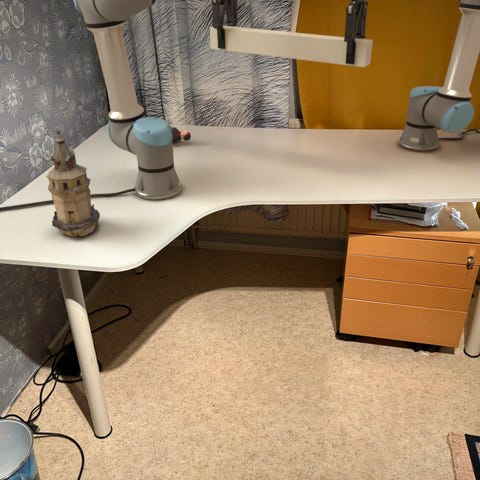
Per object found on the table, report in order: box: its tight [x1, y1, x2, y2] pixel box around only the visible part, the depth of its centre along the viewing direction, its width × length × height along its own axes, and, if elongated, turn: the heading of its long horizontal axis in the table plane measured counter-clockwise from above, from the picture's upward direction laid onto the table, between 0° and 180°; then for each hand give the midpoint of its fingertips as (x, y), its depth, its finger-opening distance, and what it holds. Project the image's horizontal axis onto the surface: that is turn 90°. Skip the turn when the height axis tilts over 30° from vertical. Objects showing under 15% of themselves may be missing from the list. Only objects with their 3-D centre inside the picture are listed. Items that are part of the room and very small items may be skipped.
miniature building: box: [46, 129, 101, 237], centre depth 148 cm, size 13×14×30 cm
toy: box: [170, 125, 192, 146], centre depth 219 cm, size 26×6×30 cm
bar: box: [209, 25, 374, 68], centre depth 180 cm, size 58×5×7 cm, turn 59°
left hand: (226, 46), depth 192 cm, fingers closed on bar, 5 cm apart
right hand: (353, 61), depth 171 cm, fingers closed on bar, 5 cm apart
